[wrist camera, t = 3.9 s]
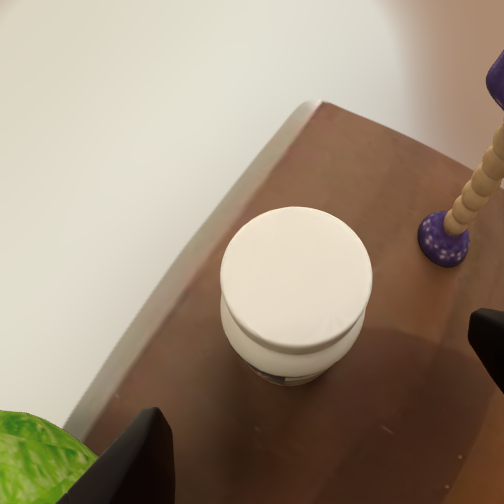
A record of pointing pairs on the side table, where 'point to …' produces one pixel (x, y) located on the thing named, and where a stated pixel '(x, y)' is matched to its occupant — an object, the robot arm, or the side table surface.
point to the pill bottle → (294, 293)
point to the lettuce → (38, 459)
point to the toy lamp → (467, 193)
